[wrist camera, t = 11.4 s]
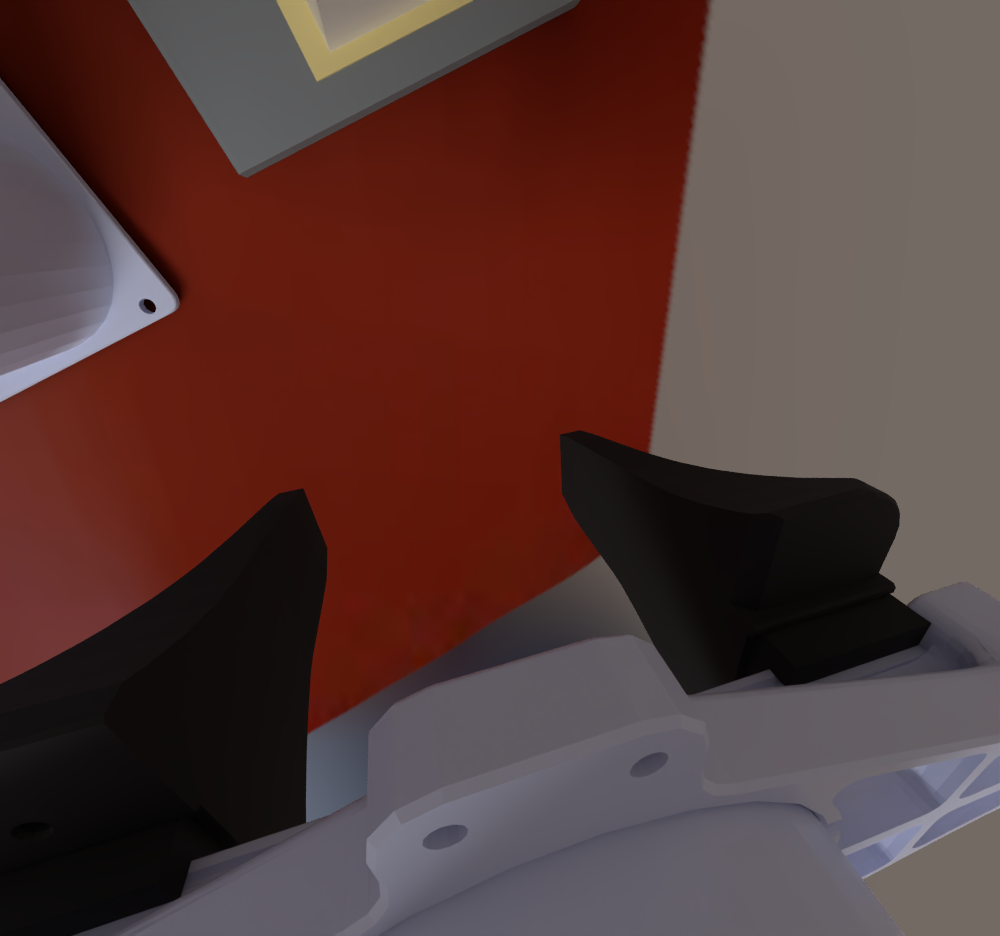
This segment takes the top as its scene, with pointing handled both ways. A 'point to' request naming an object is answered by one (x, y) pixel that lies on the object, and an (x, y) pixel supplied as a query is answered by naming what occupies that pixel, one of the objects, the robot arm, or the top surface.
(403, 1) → the block
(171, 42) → the board
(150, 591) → the top surface
